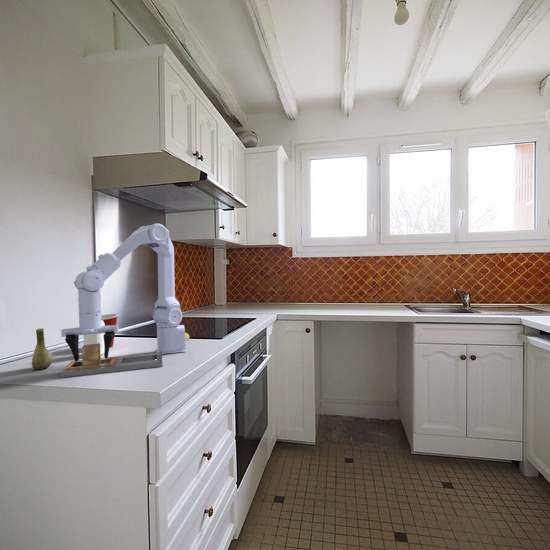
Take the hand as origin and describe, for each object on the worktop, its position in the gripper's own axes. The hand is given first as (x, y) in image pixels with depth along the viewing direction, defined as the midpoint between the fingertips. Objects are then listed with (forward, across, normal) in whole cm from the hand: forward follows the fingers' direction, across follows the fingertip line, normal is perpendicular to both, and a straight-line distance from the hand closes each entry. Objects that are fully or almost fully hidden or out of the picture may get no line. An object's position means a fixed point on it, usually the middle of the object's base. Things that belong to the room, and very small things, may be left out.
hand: (91, 358), depth 98 cm
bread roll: (+3, +26, +31) cm, 41 cm away
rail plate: (+3, +6, 0) cm, 7 cm away
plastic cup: (+3, -2, +30) cm, 30 cm away
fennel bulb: (+3, -14, +7) cm, 16 cm away
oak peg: (+3, 0, 0) cm, 3 cm away
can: (+3, -2, +19) cm, 19 cm away
